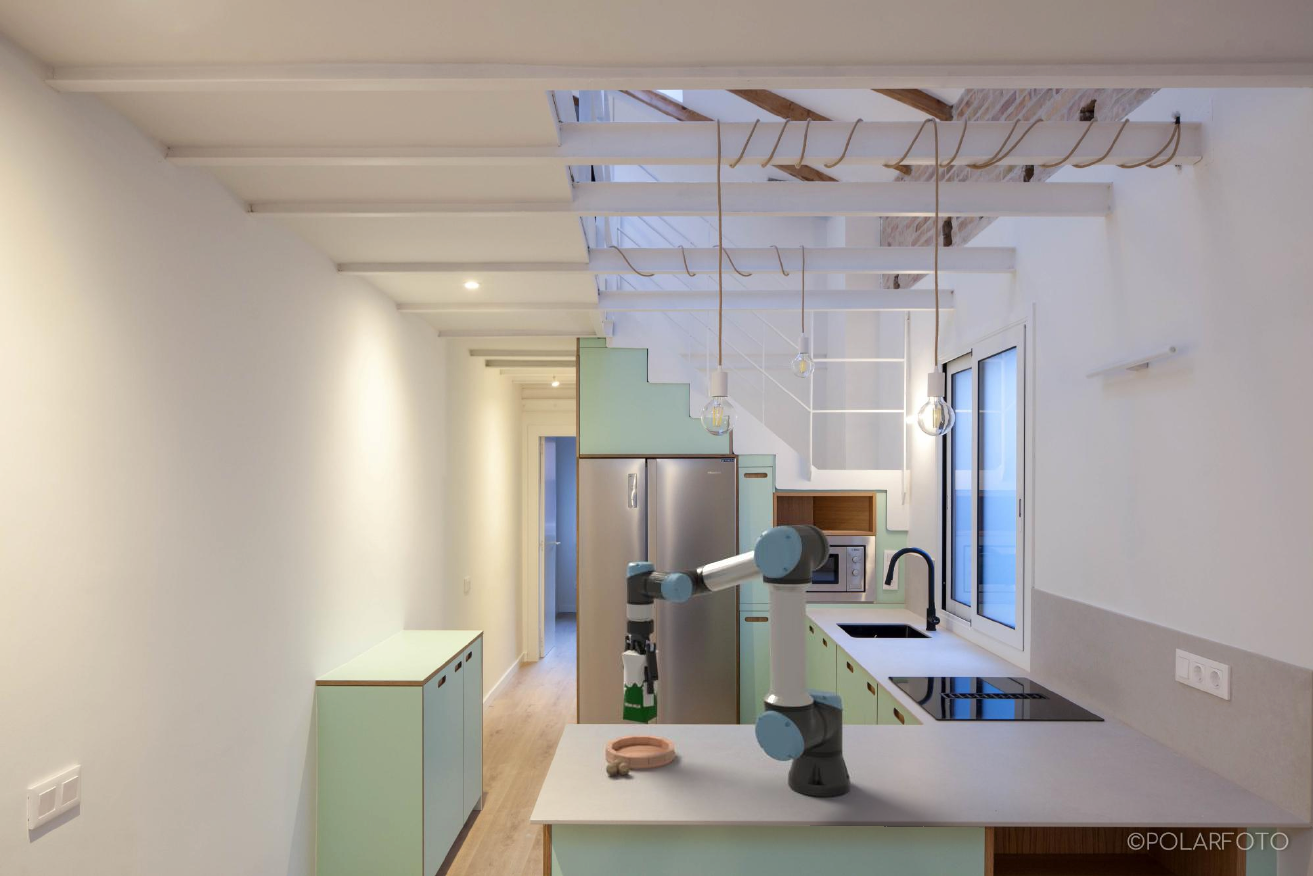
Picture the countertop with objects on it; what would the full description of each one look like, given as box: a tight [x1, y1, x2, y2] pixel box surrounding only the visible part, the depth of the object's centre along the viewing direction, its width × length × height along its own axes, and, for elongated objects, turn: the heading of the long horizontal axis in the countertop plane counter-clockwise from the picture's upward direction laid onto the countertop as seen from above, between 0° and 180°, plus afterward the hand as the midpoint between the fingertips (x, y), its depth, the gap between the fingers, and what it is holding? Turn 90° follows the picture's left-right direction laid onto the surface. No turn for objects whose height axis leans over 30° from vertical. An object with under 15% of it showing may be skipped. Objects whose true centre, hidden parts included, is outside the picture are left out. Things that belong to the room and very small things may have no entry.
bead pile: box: [605, 760, 631, 777], centre depth 213 cm, size 6×6×3 cm
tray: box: [604, 734, 676, 770], centre depth 226 cm, size 19×19×3 cm
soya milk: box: [621, 650, 660, 724], centre depth 226 cm, size 9×9×20 cm
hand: (640, 701), depth 226 cm, fingers closed on soya milk, 9 cm apart
